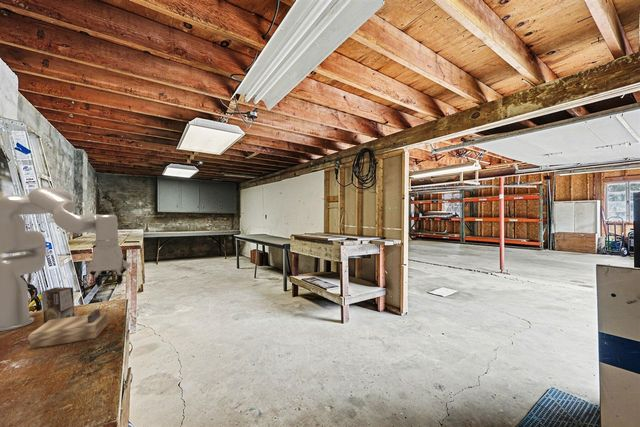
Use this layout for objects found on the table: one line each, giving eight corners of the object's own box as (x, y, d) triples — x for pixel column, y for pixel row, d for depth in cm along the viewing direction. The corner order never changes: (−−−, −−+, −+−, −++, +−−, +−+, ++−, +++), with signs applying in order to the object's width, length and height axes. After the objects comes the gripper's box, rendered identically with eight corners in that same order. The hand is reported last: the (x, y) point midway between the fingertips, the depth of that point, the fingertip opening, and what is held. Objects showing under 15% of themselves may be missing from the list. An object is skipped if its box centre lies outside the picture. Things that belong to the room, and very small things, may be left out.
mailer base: (30, 348, 103) (29, 335, 103) (50, 332, 116) (50, 321, 116) (95, 338, 111) (94, 326, 110) (107, 324, 124) (107, 313, 123)
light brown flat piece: (28, 341, 102) (27, 327, 102) (51, 324, 117) (50, 312, 117) (94, 330, 110) (93, 318, 110) (108, 316, 124) (107, 305, 124)
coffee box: (75, 321, 128) (73, 287, 127) (61, 327, 122) (59, 291, 121) (58, 320, 129) (56, 286, 128) (43, 326, 122) (41, 291, 122)
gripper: (78, 246, 110) (80, 290, 111) (129, 243, 117) (131, 284, 117) (86, 243, 117) (88, 285, 118) (133, 241, 124) (135, 280, 124)
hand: (109, 284), depth 118 cm, fingers open, 6 cm apart
